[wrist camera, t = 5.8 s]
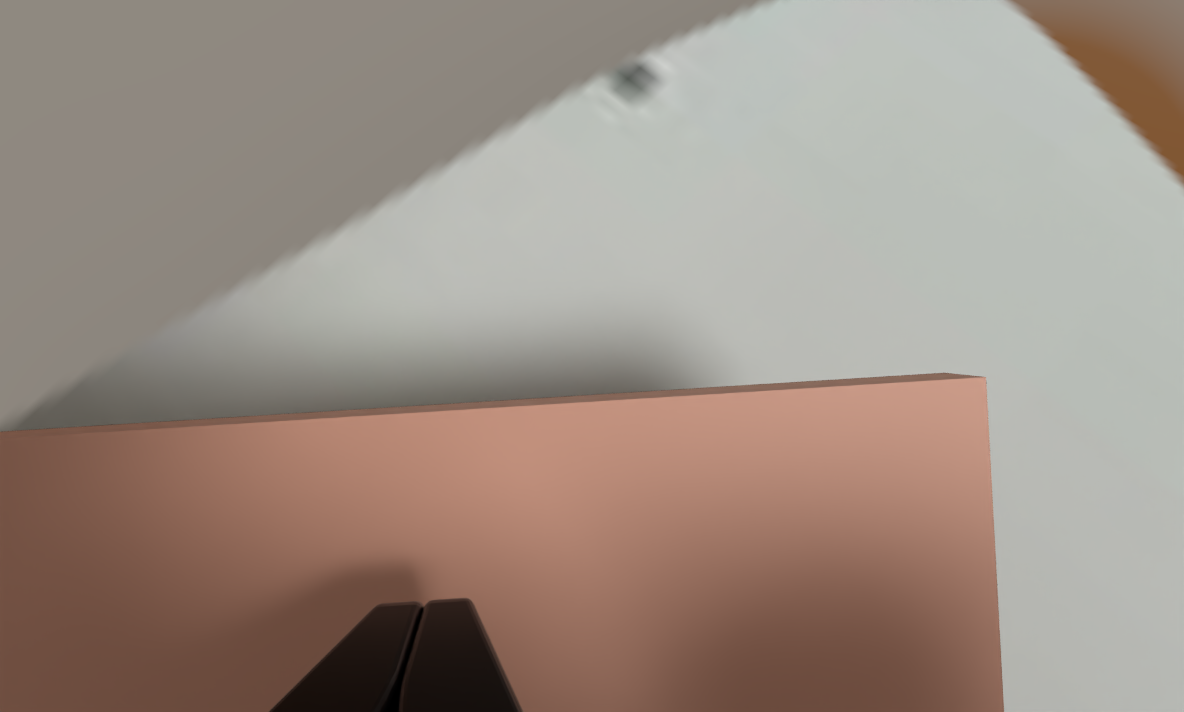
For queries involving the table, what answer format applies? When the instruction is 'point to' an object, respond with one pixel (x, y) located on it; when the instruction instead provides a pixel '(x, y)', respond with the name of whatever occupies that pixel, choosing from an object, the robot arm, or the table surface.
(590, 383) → the table surface
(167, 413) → the table surface
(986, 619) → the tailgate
